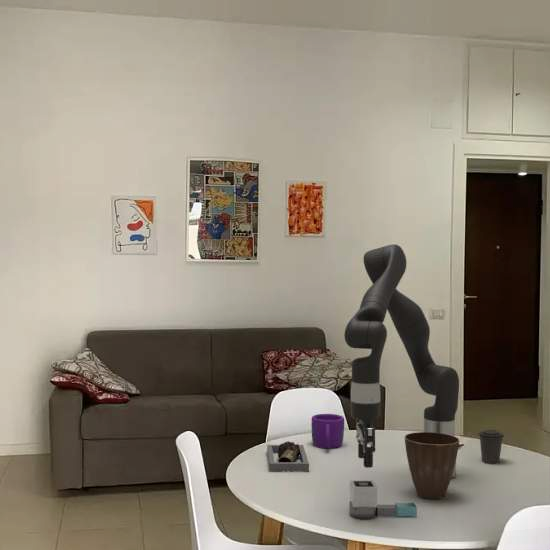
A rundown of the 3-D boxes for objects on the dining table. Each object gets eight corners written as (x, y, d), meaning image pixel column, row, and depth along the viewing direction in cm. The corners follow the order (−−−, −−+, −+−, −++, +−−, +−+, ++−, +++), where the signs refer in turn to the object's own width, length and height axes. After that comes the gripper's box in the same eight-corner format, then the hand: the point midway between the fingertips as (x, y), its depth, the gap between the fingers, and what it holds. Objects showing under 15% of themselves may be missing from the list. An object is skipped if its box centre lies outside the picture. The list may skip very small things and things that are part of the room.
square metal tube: (372, 499, 199) (373, 480, 198) (376, 507, 193) (377, 487, 192) (349, 499, 198) (350, 480, 198) (353, 507, 192) (353, 487, 192)
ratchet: (412, 510, 200) (412, 479, 199) (418, 519, 193) (418, 488, 192) (347, 510, 199) (347, 479, 199) (351, 519, 192) (351, 488, 192)
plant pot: (400, 486, 220) (401, 431, 220) (452, 487, 220) (453, 432, 219) (407, 503, 205) (408, 444, 205) (463, 504, 205) (464, 445, 204)
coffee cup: (500, 459, 251) (501, 428, 251) (505, 465, 243) (506, 434, 243) (475, 458, 252) (476, 427, 252) (479, 464, 244) (480, 433, 244)
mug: (311, 440, 272) (312, 413, 272) (343, 441, 272) (344, 413, 271) (310, 453, 255) (310, 423, 255) (344, 454, 254) (344, 424, 254)
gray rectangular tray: (302, 452, 257) (303, 444, 256) (308, 471, 234) (308, 463, 233) (267, 452, 256) (267, 444, 256) (269, 471, 233) (269, 463, 233)
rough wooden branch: (293, 471, 235) (293, 453, 235) (271, 470, 236) (271, 452, 236) (301, 456, 252) (301, 439, 252) (281, 455, 253) (281, 438, 253)
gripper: (385, 404, 188) (385, 470, 188) (375, 393, 202) (374, 454, 202) (355, 405, 187) (355, 470, 188) (346, 394, 201) (346, 455, 202)
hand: (365, 462), depth 195 cm, fingers open, 8 cm apart
